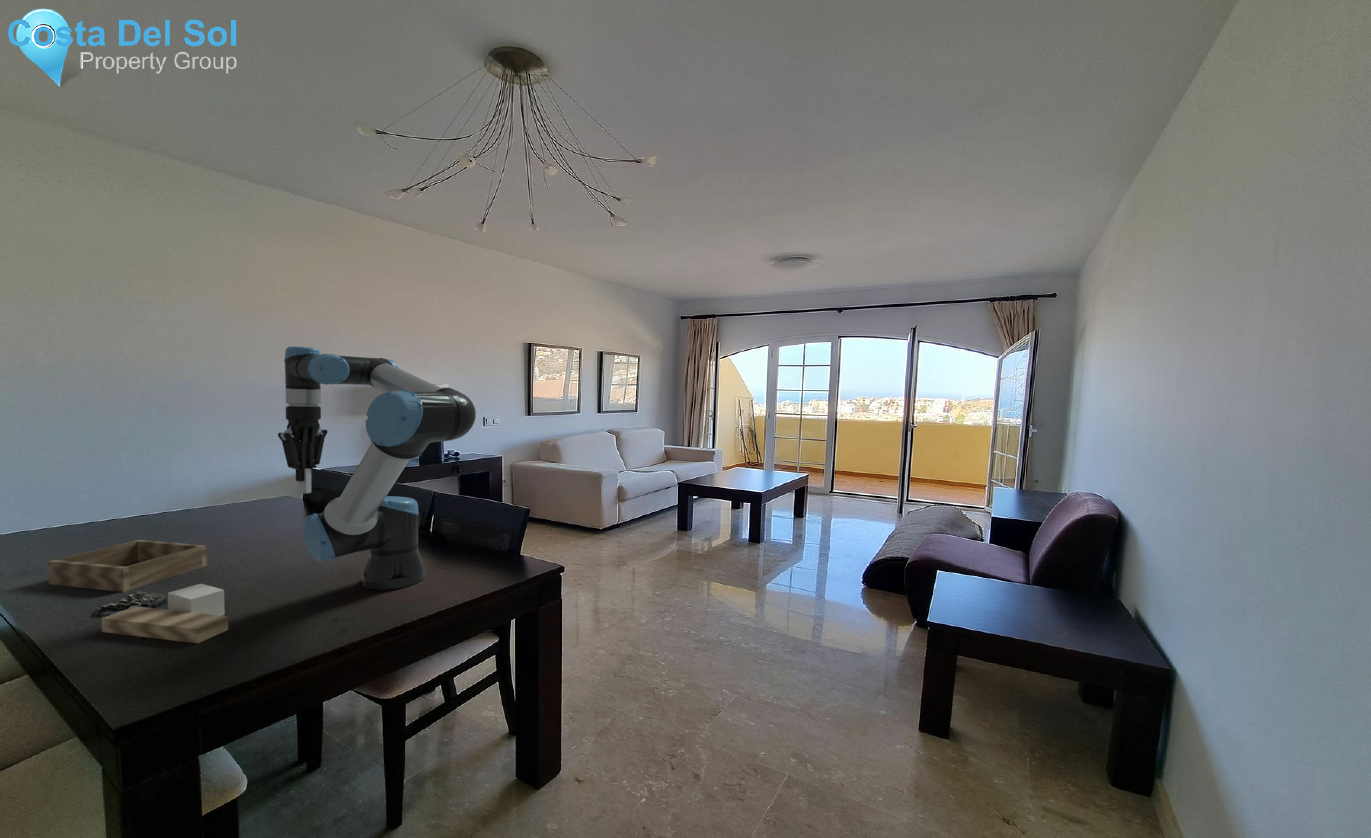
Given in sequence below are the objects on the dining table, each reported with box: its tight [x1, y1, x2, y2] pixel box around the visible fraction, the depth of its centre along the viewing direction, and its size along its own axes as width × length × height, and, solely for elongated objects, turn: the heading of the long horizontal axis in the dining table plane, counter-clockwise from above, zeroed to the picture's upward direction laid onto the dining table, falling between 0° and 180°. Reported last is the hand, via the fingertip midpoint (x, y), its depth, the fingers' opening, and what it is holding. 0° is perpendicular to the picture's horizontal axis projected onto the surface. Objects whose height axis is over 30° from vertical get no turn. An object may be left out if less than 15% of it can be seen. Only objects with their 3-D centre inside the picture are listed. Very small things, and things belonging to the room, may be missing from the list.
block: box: [167, 583, 226, 616], centre depth 116 cm, size 9×6×6 cm, turn 69°
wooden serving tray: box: [47, 539, 208, 593], centre depth 139 cm, size 23×19×6 cm
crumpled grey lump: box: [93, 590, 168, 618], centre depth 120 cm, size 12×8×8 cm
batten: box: [100, 606, 229, 644], centre depth 109 cm, size 24×6×3 cm, turn 82°
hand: (304, 492), depth 137 cm, fingers closed
